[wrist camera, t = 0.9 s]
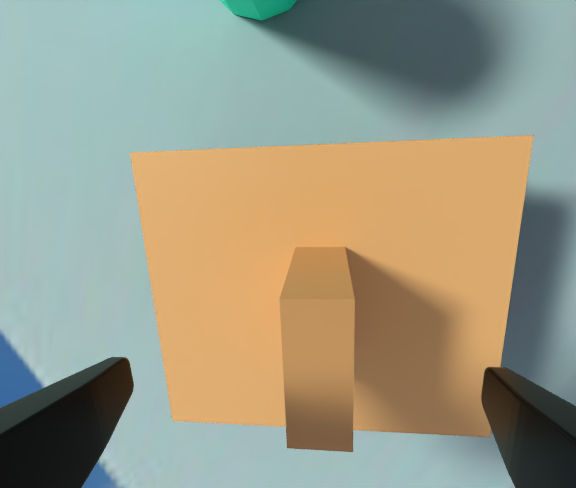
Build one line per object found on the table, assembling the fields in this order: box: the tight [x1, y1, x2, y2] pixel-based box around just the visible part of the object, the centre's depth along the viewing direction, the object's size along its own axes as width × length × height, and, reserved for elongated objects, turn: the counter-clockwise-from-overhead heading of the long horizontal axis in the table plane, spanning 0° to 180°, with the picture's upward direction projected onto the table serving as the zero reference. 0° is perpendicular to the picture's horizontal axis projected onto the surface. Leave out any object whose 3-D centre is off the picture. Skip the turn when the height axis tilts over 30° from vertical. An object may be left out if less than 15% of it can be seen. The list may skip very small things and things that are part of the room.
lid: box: [130, 135, 534, 452], centre depth 13 cm, size 15×13×7 cm
